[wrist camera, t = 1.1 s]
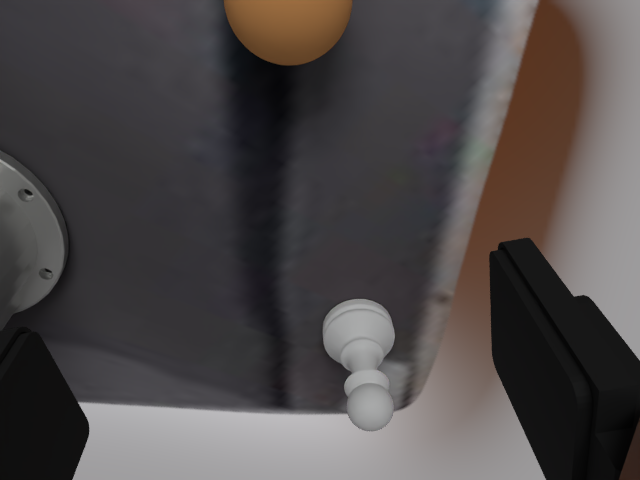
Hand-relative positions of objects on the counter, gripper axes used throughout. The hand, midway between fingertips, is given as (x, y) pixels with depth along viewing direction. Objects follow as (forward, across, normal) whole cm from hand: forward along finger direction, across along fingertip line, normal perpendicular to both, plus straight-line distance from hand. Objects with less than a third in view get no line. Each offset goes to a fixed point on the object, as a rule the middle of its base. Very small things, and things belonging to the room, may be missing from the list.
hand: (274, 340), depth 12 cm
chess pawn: (+23, -2, +18) cm, 29 cm away
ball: (+19, -1, -4) cm, 20 cm away
